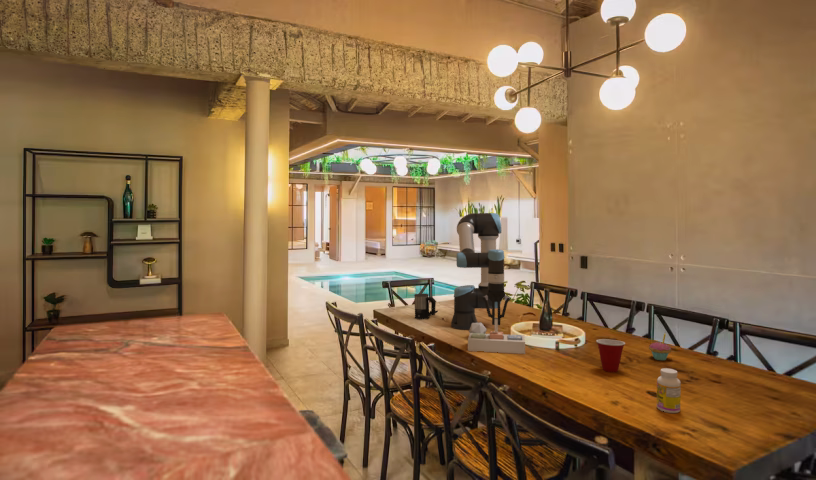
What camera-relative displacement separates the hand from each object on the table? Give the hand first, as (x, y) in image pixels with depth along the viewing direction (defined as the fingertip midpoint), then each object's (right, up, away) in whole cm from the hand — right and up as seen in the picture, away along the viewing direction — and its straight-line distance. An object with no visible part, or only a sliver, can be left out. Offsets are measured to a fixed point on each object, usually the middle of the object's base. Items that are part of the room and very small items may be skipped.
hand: (496, 331), depth 216 cm
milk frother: (-30, -5, +71) cm, 77 cm away
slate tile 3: (+8, -5, -1) cm, 10 cm away
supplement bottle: (+42, -12, -69) cm, 82 cm away
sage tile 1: (-8, -5, +2) cm, 10 cm away
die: (-6, -8, +20) cm, 22 cm away
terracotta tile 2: (0, -4, 0) cm, 4 cm away
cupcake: (+68, -9, -17) cm, 71 cm away
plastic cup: (+40, -10, -31) cm, 52 cm away
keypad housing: (0, -8, +1) cm, 8 cm away
